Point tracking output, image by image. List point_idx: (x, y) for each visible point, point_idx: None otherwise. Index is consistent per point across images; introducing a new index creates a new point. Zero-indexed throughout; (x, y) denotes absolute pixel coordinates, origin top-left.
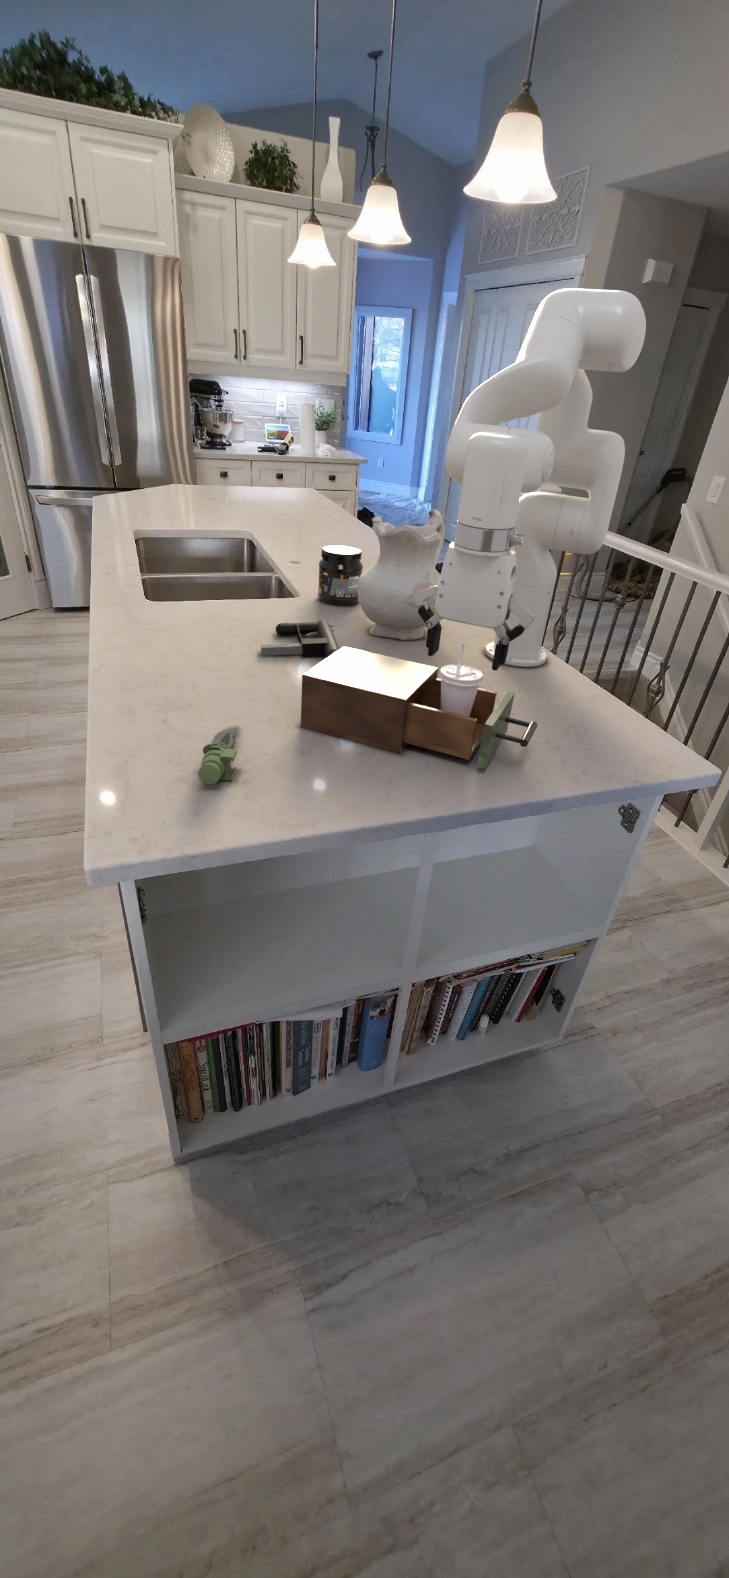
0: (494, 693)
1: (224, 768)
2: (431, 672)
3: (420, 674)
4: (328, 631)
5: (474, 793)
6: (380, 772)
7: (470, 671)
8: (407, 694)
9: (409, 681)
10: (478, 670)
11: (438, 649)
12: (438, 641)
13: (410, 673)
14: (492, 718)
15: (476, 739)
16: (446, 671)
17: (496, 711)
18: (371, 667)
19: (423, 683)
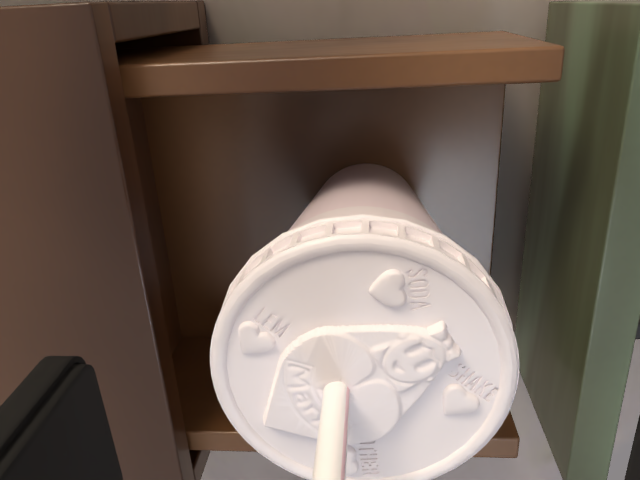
0: (552, 79)
1: None
2: (101, 127)
3: (69, 203)
4: None
5: (529, 442)
6: (251, 458)
7: (418, 357)
8: (162, 464)
9: (82, 329)
10: (465, 285)
11: (89, 371)
12: (53, 462)
13: (18, 226)
14: (593, 425)
15: (479, 228)
16: (269, 427)
17: (604, 348)
18: None
19: (150, 301)
